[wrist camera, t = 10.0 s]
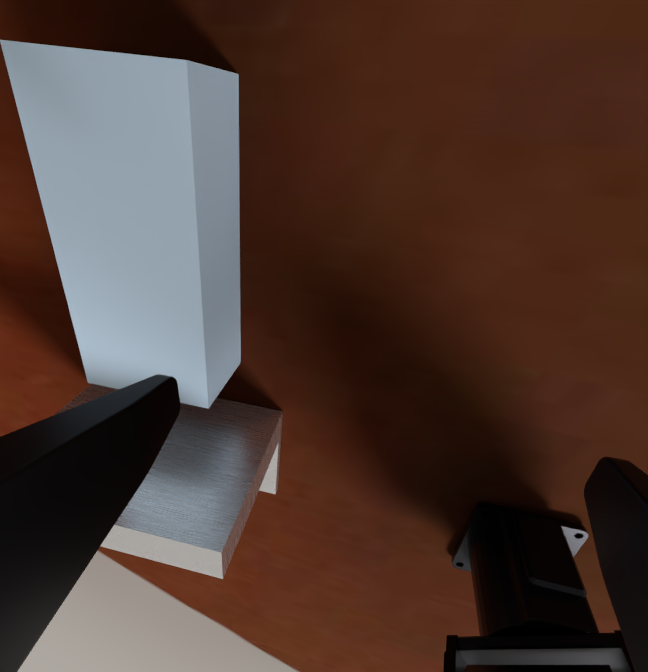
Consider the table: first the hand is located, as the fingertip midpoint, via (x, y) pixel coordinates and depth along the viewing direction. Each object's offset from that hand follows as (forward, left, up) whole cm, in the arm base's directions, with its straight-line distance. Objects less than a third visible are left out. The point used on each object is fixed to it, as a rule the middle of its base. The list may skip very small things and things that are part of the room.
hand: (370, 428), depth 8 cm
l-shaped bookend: (-14, +11, -11) cm, 21 cm away
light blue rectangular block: (0, +11, -12) cm, 16 cm away
